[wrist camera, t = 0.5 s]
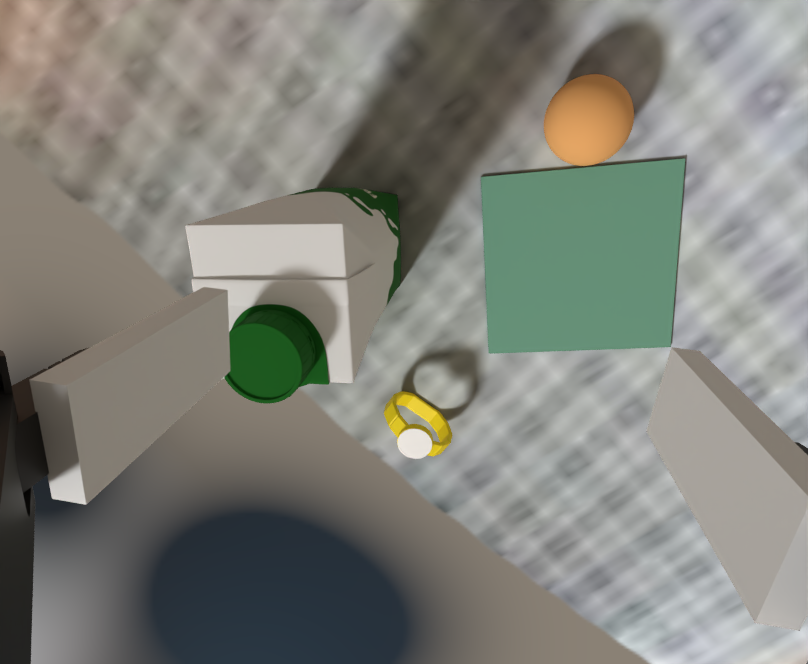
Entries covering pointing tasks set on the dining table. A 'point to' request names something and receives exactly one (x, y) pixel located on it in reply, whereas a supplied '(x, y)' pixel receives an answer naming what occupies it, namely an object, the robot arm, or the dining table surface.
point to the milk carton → (300, 284)
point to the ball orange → (588, 119)
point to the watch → (417, 427)
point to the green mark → (582, 257)
